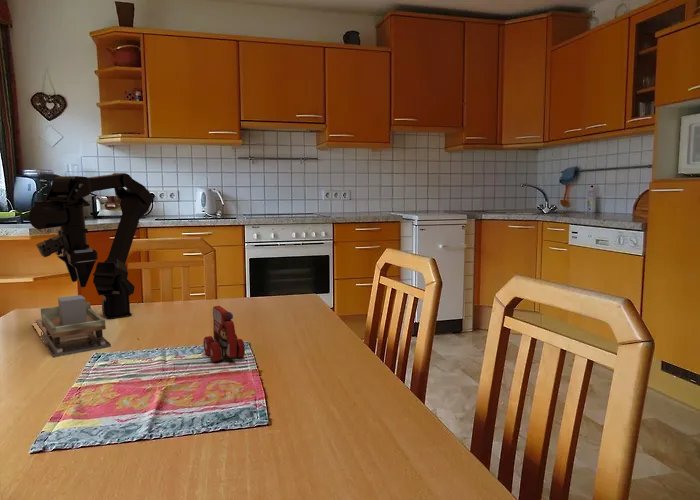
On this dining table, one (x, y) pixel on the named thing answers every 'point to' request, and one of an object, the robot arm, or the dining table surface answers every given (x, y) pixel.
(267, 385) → the dining table surface
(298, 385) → the dining table surface
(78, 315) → the part block
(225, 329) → the toy fire truck
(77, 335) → the track
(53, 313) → the cart
